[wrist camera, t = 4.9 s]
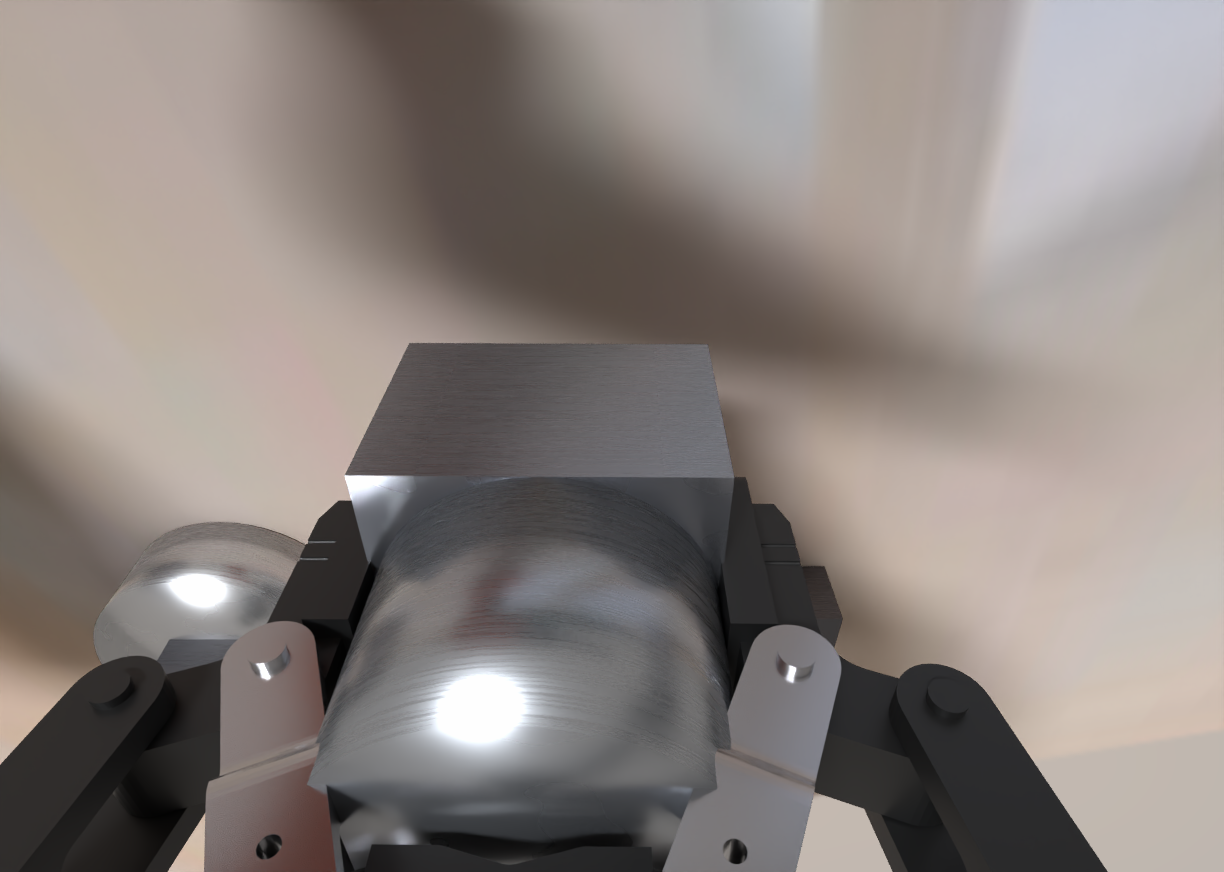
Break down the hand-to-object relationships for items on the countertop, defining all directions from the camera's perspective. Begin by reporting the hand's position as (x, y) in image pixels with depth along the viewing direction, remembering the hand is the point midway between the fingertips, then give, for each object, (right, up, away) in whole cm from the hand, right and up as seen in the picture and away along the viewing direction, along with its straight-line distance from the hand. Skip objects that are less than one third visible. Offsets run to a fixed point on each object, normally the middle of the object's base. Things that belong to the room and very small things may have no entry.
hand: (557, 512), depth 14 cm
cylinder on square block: (0, +1, +1) cm, 2 cm away
